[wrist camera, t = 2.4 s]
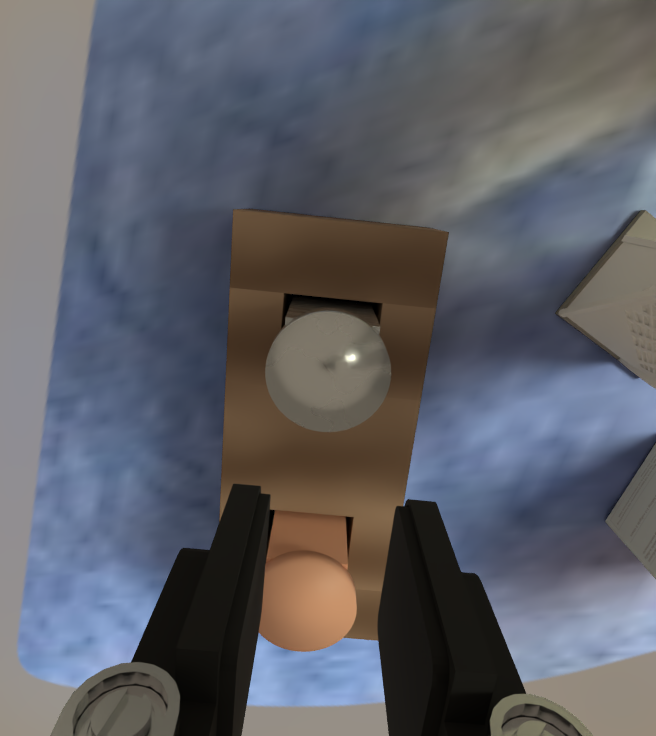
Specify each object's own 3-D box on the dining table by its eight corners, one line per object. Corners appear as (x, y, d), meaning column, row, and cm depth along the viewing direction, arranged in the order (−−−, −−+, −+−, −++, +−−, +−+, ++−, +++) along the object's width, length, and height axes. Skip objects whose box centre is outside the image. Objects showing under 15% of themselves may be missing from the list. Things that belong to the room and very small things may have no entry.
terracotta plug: (267, 489, 30) (252, 559, 24) (356, 497, 30) (362, 569, 24) (261, 564, 32) (246, 647, 26) (346, 571, 32) (350, 655, 26)
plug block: (249, 208, 28) (233, 209, 24) (429, 227, 29) (449, 232, 24) (230, 570, 36) (214, 626, 31) (373, 582, 36) (380, 640, 31)
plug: (283, 283, 26) (269, 306, 20) (383, 293, 26) (399, 319, 21) (275, 379, 28) (261, 426, 22) (371, 388, 28) (382, 437, 22)
